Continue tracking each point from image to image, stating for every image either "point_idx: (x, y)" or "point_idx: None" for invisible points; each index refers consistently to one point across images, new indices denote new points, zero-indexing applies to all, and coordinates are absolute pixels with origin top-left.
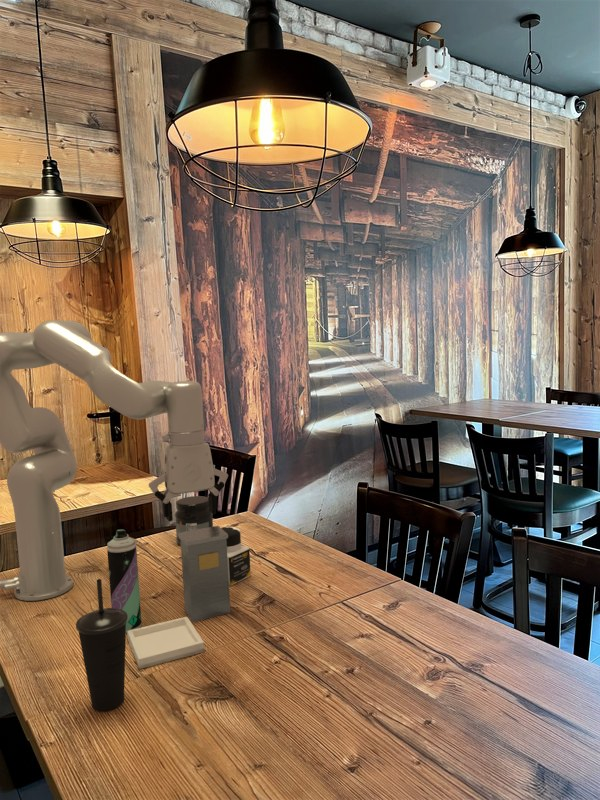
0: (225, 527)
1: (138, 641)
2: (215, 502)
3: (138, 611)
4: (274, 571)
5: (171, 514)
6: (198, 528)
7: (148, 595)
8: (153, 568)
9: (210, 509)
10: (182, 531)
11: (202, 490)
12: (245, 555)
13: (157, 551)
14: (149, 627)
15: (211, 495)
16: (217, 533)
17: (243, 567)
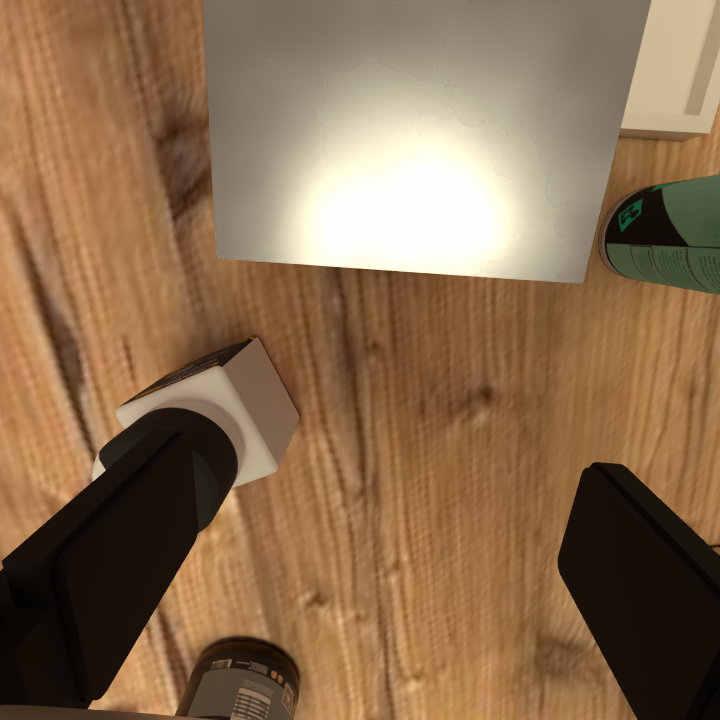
0: None
1: (681, 78)
2: (80, 496)
3: (659, 194)
4: (94, 360)
5: (636, 501)
6: (230, 699)
7: (496, 417)
8: (413, 576)
9: (184, 510)
10: (280, 711)
11: (129, 715)
12: (149, 390)
13: (363, 667)
14: (637, 112)
15: (54, 630)
16: (288, 2)
17: (183, 370)
